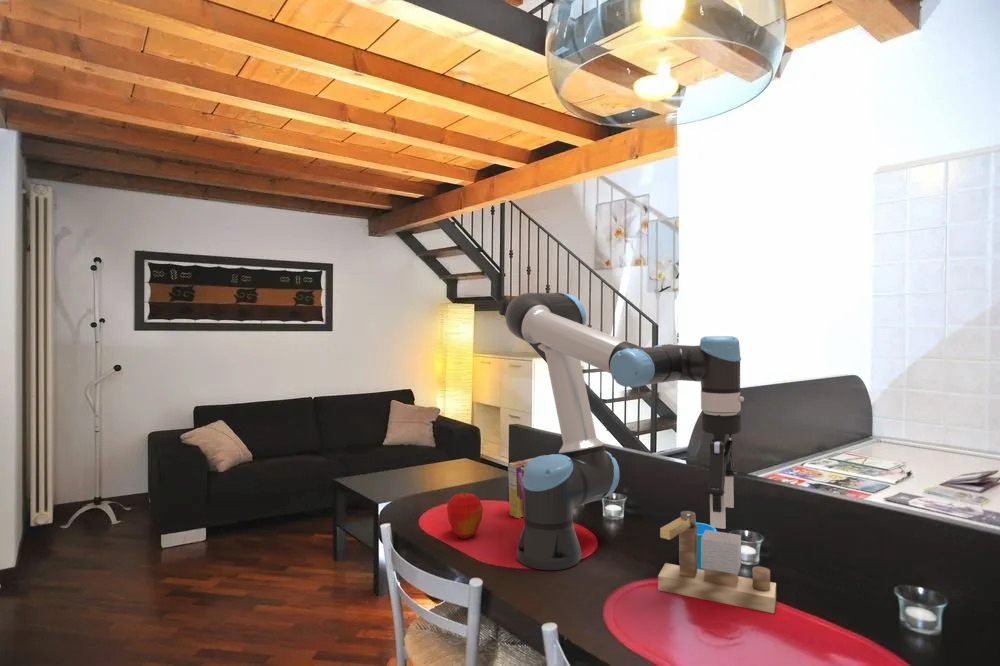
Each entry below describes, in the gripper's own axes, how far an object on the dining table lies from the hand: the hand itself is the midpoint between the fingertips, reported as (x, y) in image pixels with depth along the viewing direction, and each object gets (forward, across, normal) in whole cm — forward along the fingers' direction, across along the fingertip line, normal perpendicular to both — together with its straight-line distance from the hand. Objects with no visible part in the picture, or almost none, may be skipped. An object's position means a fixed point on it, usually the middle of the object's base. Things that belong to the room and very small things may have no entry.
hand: (722, 516), depth 121 cm
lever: (+3, -4, +8) cm, 9 cm away
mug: (+16, +16, +7) cm, 24 cm away
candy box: (+16, +27, +58) cm, 65 cm away
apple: (+16, +5, +64) cm, 67 cm away
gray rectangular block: (+10, 0, 0) cm, 10 cm away
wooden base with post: (+16, 0, +2) cm, 16 cm away
